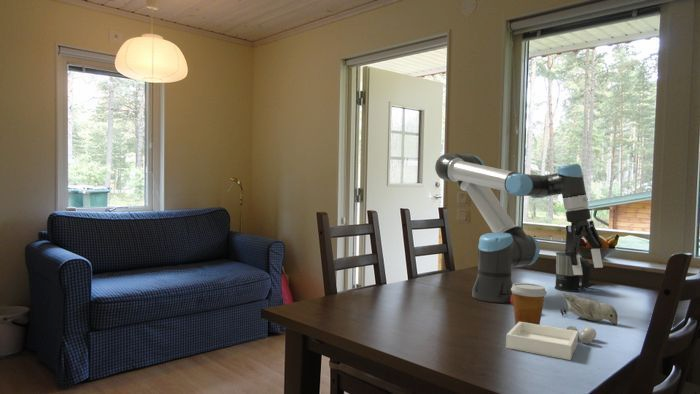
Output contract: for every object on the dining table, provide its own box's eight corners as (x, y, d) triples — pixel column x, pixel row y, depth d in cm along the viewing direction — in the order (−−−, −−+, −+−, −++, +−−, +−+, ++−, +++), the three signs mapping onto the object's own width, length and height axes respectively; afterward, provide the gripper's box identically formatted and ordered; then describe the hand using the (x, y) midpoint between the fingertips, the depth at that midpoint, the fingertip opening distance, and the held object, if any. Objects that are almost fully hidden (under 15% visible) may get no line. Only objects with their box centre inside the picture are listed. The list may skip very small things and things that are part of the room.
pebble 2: (578, 343, 124) (578, 331, 124) (579, 340, 127) (579, 328, 127) (591, 346, 122) (592, 333, 122) (592, 343, 125) (593, 330, 125)
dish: (505, 347, 119) (506, 334, 119) (518, 333, 132) (519, 321, 131) (570, 360, 111) (571, 345, 111) (577, 343, 124) (578, 331, 124)
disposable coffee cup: (508, 330, 135) (509, 287, 134) (510, 321, 143) (512, 281, 143) (545, 334, 131) (546, 290, 131) (545, 326, 140) (546, 284, 140)
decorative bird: (615, 327, 141) (616, 302, 141) (557, 317, 151) (558, 293, 151) (619, 324, 145) (620, 299, 145) (563, 314, 156) (563, 291, 155)
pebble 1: (564, 338, 128) (565, 326, 128) (566, 335, 131) (566, 324, 131) (577, 341, 126) (578, 329, 126) (579, 338, 129) (579, 326, 129)
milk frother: (551, 289, 195) (552, 252, 195) (563, 284, 207) (564, 249, 207) (589, 295, 186) (590, 256, 186) (599, 289, 198) (601, 253, 198)
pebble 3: (581, 340, 127) (581, 327, 127) (582, 337, 130) (583, 324, 130) (595, 342, 125) (596, 329, 125) (596, 339, 128) (597, 326, 128)
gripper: (567, 212, 154) (580, 278, 153) (605, 204, 169) (617, 264, 168) (546, 214, 160) (558, 278, 159) (585, 206, 175) (596, 264, 174)
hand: (588, 271), depth 163 cm, fingers open, 13 cm apart
